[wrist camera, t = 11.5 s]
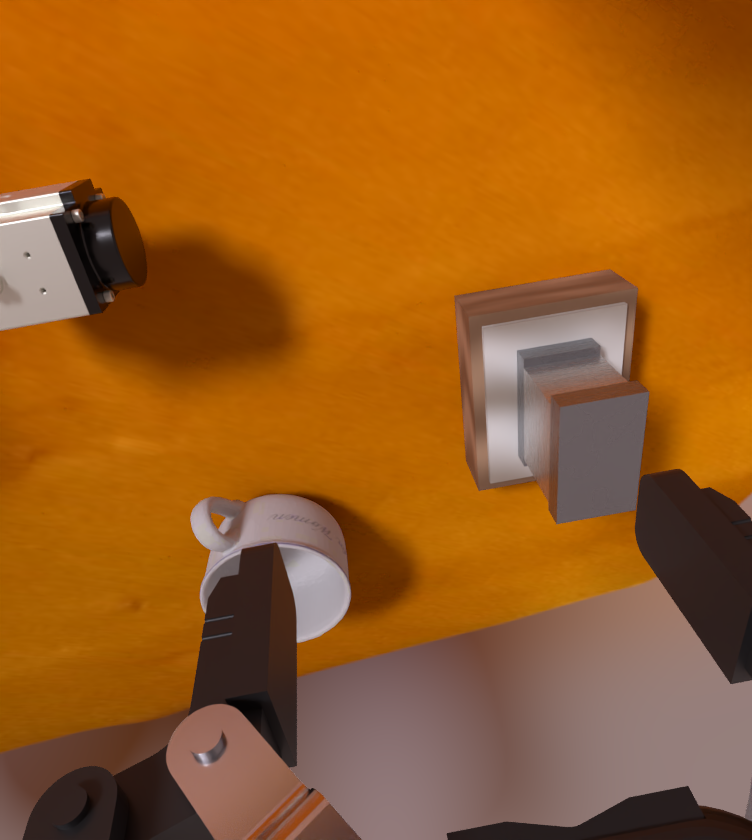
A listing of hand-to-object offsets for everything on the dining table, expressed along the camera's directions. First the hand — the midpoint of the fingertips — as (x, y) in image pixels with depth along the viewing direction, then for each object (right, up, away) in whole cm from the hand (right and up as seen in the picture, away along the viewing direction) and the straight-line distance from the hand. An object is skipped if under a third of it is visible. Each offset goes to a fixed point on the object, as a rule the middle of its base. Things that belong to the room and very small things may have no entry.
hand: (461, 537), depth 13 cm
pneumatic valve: (-21, +15, +23) cm, 35 cm away
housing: (+10, +4, +29) cm, 31 cm away
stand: (+10, +6, +32) cm, 34 cm away
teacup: (-11, -5, +37) cm, 39 cm away
